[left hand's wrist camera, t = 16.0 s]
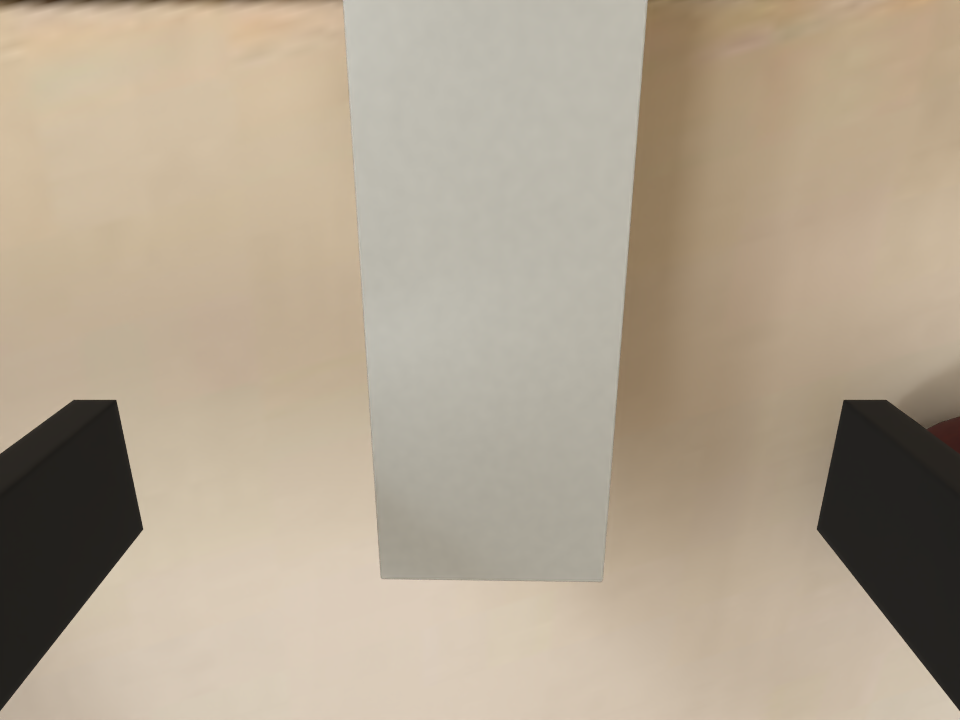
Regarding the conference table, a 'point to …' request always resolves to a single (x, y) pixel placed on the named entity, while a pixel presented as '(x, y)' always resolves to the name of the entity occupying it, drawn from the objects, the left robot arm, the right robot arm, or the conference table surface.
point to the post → (493, 274)
